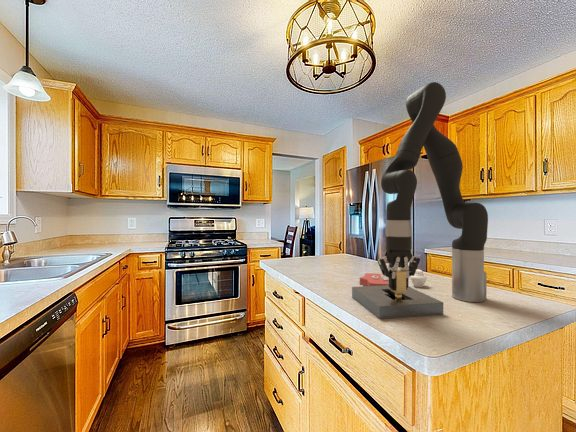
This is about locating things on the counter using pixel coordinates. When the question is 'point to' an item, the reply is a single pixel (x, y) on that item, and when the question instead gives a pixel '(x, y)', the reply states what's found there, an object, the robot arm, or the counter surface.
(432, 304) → the keyhole plate
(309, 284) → the counter surface
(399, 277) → the peg
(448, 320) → the counter surface
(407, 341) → the counter surface
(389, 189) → the robot arm
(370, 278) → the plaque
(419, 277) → the white lidded jar
